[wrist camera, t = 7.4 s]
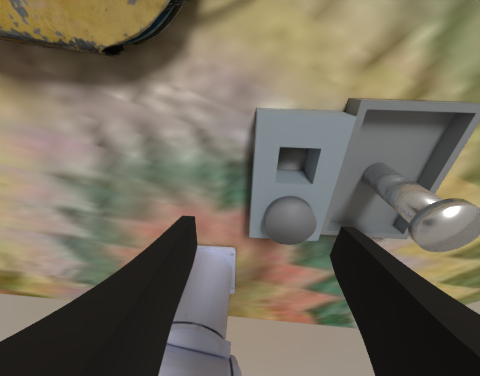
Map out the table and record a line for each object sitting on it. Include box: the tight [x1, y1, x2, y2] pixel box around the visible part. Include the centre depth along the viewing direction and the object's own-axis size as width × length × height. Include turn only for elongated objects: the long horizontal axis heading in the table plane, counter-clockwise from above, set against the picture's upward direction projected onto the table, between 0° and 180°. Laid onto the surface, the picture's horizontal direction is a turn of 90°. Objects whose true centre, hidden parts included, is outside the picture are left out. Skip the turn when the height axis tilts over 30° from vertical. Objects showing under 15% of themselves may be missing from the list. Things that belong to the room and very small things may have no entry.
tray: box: [320, 98, 480, 239], centre depth 18 cm, size 13×9×2 cm
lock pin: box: [362, 163, 480, 252], centre depth 15 cm, size 4×4×8 cm
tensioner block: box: [249, 108, 356, 245], centre depth 17 cm, size 12×7×4 cm, turn 178°
